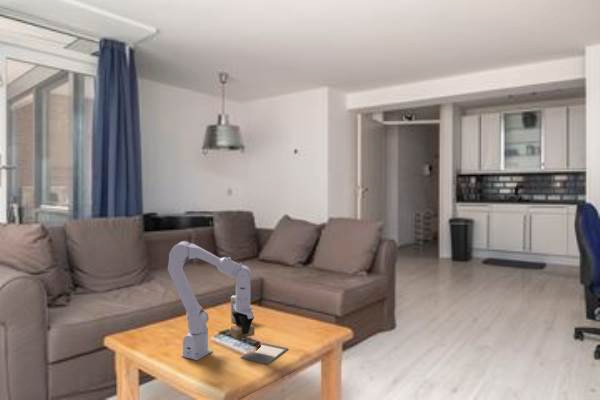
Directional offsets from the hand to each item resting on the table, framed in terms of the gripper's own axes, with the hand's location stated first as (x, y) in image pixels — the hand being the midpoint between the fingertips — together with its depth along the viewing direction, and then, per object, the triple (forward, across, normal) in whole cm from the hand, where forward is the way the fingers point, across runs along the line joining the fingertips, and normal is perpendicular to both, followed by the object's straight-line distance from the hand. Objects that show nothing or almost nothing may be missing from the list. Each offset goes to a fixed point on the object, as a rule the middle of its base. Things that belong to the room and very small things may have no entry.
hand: (242, 331), depth 159 cm
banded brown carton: (+2, 0, 0) cm, 2 cm away
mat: (+8, -5, -7) cm, 12 cm away
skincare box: (+9, +35, -14) cm, 38 cm away
